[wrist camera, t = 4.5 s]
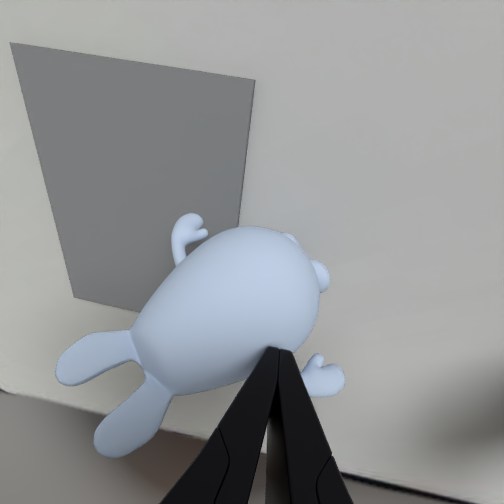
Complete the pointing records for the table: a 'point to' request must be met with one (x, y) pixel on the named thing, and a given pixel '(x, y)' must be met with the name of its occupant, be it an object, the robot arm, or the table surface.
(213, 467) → the robot arm
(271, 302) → the toy figure
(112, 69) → the mat
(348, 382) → the table surface
